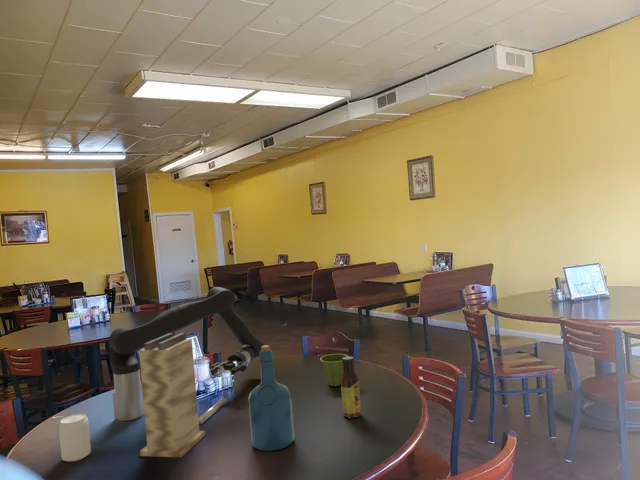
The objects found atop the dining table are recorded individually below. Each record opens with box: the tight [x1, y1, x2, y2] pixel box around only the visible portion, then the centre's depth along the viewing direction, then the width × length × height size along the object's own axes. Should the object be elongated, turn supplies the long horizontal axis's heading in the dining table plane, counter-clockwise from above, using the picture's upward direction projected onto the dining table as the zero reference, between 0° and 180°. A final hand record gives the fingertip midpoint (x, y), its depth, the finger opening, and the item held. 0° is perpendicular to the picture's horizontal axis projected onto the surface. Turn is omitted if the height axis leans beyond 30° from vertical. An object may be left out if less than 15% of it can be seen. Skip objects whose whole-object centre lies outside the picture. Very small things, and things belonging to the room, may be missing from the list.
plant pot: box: [319, 353, 350, 386], centre depth 195 cm, size 12×12×11 cm
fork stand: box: [138, 332, 206, 458], centre depth 148 cm, size 14×15×34 cm
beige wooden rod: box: [198, 397, 228, 425], centre depth 174 cm, size 20×2×2 cm, turn 167°
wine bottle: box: [248, 344, 295, 452], centre depth 144 cm, size 14×13×30 cm
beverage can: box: [58, 413, 92, 463], centre depth 146 cm, size 8×8×12 cm
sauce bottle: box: [340, 356, 362, 418], centre depth 161 cm, size 6×6×20 cm
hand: (222, 372), depth 184 cm, fingers open, 8 cm apart
